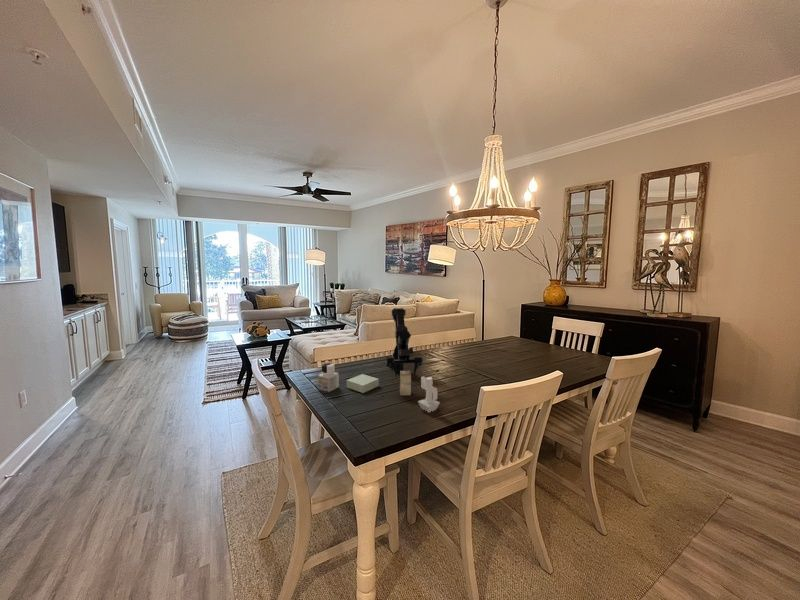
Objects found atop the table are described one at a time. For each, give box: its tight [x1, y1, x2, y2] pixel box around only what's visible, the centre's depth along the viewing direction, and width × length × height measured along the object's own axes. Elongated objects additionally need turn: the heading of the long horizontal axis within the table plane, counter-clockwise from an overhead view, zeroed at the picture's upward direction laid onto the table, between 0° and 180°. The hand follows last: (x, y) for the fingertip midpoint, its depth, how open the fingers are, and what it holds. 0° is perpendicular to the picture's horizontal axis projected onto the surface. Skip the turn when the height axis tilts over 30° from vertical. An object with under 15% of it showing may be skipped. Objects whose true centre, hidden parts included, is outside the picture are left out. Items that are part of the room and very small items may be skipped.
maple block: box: [399, 370, 412, 396], centre depth 169 cm, size 5×5×11 cm
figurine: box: [417, 376, 441, 414], centre depth 150 cm, size 7×9×15 cm
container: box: [317, 362, 340, 393], centre depth 175 cm, size 8×8×13 cm
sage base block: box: [346, 373, 380, 394], centre depth 177 cm, size 12×12×4 cm
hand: (405, 376), depth 169 cm, fingers open, 9 cm apart
